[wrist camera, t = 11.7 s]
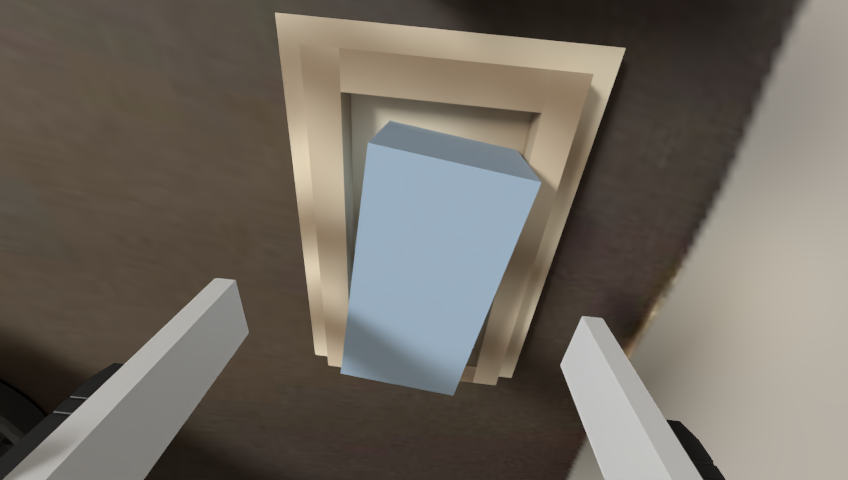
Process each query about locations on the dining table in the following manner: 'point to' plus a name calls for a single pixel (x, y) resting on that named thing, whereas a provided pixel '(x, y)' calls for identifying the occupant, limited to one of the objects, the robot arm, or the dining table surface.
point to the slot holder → (443, 112)
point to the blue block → (430, 252)
